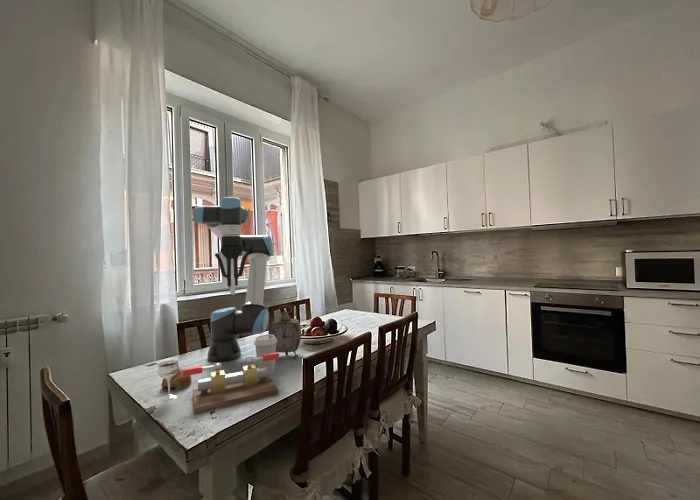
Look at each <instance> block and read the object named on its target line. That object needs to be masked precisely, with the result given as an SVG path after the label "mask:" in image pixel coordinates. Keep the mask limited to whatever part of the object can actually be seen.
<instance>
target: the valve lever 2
mask: <svg viewBox="0 0 700 500" xmlns="http://www.w3.org/2000/svg"><path fill="white" fill-rule="evenodd" d="M274 359H275V360H278V359H280V352H273V353H268V354H263V355H262V356H261V357H257V356H256V357H253V356H249V357H246V358H245V364H247V365H248V364H251V365H252V364H253V363H254V362H257V360H263V361H269V360H274Z"/></svg>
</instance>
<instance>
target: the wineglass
mask: <svg viewBox="0 0 700 500" xmlns="http://www.w3.org/2000/svg"><path fill="white" fill-rule="evenodd" d="M179 363H180V361H179V360H177V359H175V360H174V359H173V360H166V361H163V362H160V363H158V364H157V367H158V368H157V375H158V376H159V377H160V378H161V379H166V380H168V394H166V395H164V396H161V398H160V399H161V401H170V400H174V399H176V398H177V397H178V395H177V394H176V393H171V391H170V379H171V378H172V377H174V376H175V375H176V374H177V373H178V371H179V369H180V364H179Z"/></svg>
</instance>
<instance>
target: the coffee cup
mask: <svg viewBox="0 0 700 500" xmlns="http://www.w3.org/2000/svg"><path fill="white" fill-rule="evenodd" d="M276 343H277V339H276V337H275V336H274V335H268V334H263V335H262V334H260V335H258V336H256V338H255V340H254V343H253V345H255V354H256V355H255V356H256V357H261V356H262V355H263V354H268V353H273V352H276ZM256 363H257V368H261V367H267V368H268V375H269V376H270V375H273V374H275V368H276V359H274V360H269V361H263V360H257V361H256Z"/></svg>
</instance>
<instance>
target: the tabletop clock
mask: <svg viewBox="0 0 700 500" xmlns="http://www.w3.org/2000/svg"><path fill="white" fill-rule="evenodd" d="M282 307H283V308H284V307H287V308H289V309H290V311H286V310H284V311H283V312H282V311H280V308H282ZM292 311H293V308H292V306H291V305H287V304H282V305H279V307H277V312H278V313H279V314H281V316H279V318H278V319H275V320H273V321H272V322H271V323H270V325H269V327H268V334H267V335H274V336H275V337H276V339H277V343H276V352H278V353H281V354H282V353H283V354H285V356H288V355H289V353H292V352H293V354H294V358H295V359H298V357H299V355H298V354H297V353H296V351H298V349H299V346H300V345H301V341H302V328H301V323H300V320H299V319H297V318H291V316H290V315H289V314H290V313H292Z"/></svg>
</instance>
